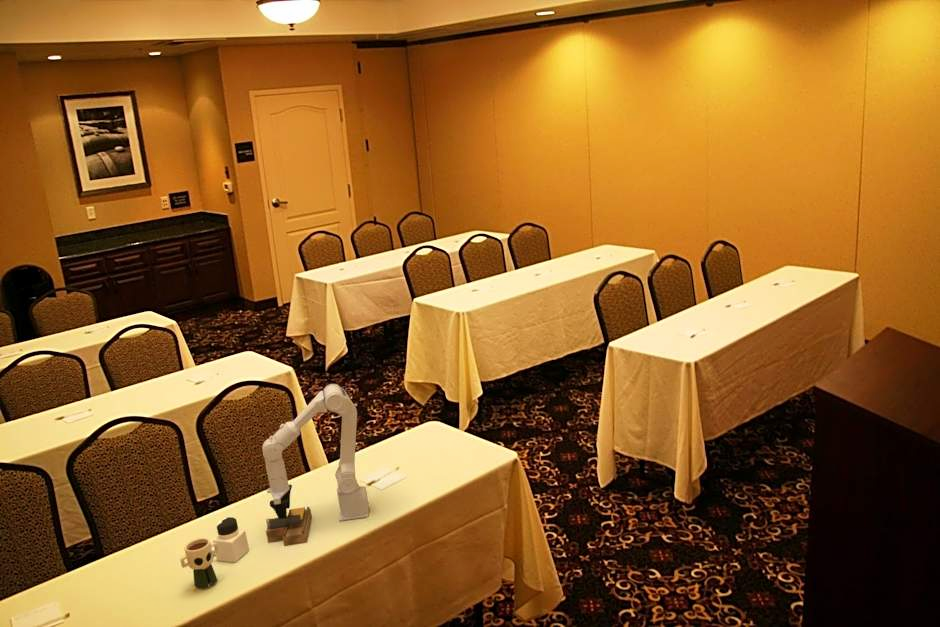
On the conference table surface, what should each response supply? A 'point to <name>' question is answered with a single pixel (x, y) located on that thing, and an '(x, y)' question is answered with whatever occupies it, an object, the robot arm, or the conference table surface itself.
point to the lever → (283, 521)
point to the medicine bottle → (230, 541)
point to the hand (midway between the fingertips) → (284, 513)
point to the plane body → (291, 531)
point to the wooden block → (297, 512)
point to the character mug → (200, 561)
